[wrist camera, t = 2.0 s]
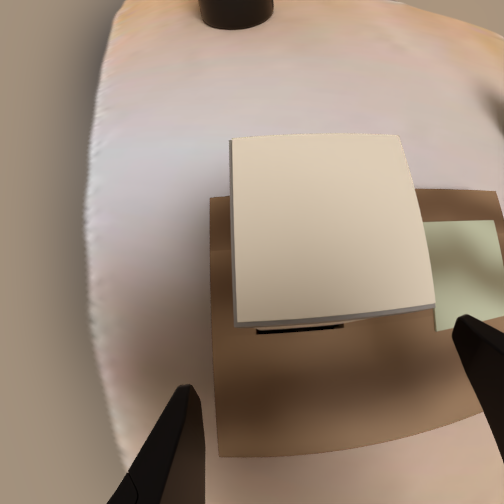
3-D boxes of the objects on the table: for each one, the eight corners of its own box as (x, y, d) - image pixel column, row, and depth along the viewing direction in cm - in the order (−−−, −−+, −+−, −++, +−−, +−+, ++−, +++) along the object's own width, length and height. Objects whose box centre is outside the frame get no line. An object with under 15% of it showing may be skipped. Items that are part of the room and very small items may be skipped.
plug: (331, 327, 19) (439, 306, 6) (260, 332, 20) (233, 326, 6) (325, 258, 21) (400, 132, 7) (257, 262, 21) (228, 135, 7)
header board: (498, 391, 17) (522, 394, 13) (226, 441, 18) (218, 458, 15) (477, 205, 21) (496, 190, 18) (217, 215, 22) (209, 196, 19)
